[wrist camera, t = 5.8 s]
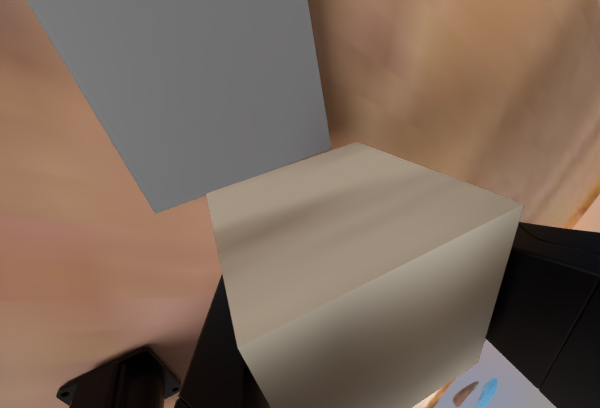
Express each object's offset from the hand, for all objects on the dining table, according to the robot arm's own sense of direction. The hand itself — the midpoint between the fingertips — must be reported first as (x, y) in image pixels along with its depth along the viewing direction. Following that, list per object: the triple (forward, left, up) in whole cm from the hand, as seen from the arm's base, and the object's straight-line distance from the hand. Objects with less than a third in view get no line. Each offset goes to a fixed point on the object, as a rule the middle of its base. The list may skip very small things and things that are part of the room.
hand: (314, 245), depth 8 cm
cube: (0, 0, -1) cm, 1 cm away
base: (+5, 0, -11) cm, 12 cm away
